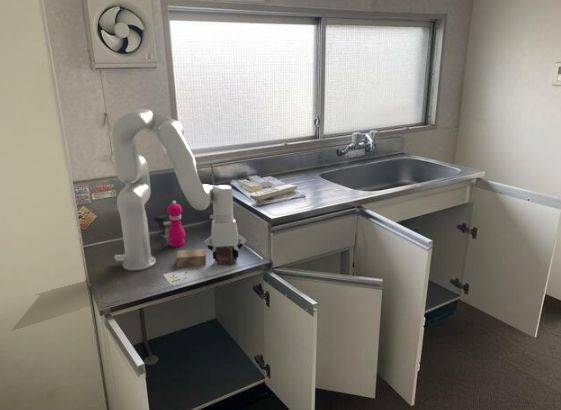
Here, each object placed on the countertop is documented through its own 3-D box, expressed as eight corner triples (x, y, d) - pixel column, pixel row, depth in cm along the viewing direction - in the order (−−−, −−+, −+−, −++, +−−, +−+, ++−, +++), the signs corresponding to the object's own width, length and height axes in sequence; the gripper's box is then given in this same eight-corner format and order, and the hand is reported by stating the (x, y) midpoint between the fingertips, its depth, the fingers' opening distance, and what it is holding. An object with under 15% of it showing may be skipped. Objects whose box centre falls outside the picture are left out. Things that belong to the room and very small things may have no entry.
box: (231, 265, 173) (230, 248, 171) (216, 264, 174) (215, 247, 172) (235, 259, 178) (234, 242, 176) (221, 258, 180) (220, 241, 178)
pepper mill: (188, 241, 198) (185, 198, 192) (182, 247, 191) (178, 203, 185) (172, 240, 199) (169, 198, 193) (166, 247, 192) (162, 202, 186)
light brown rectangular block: (176, 267, 172) (176, 257, 171) (178, 259, 179) (177, 250, 178) (205, 265, 173) (204, 255, 172) (206, 258, 180) (205, 248, 179)
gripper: (200, 221, 166) (203, 265, 171) (246, 219, 168) (248, 262, 173) (201, 215, 173) (204, 257, 179) (245, 213, 175) (247, 254, 180)
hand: (226, 259), depth 176 cm, fingers closed on box, 7 cm apart
